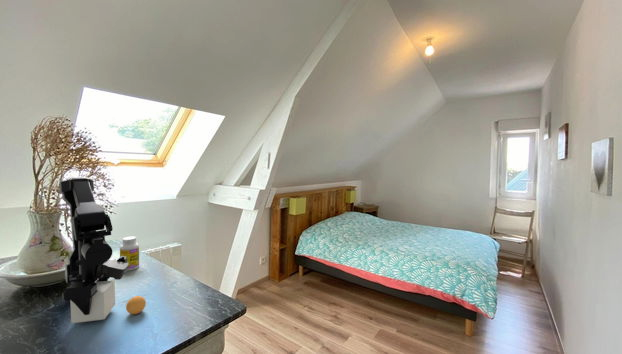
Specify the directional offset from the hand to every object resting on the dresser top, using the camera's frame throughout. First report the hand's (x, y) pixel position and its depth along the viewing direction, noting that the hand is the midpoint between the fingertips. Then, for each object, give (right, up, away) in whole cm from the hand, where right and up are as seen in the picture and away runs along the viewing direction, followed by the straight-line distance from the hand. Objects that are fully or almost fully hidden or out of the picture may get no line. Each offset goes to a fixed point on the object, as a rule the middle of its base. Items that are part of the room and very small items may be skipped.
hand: (93, 306), depth 79 cm
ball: (+10, -1, +3) cm, 11 cm away
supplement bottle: (-12, -1, +34) cm, 37 cm away
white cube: (0, -2, 0) cm, 2 cm away
